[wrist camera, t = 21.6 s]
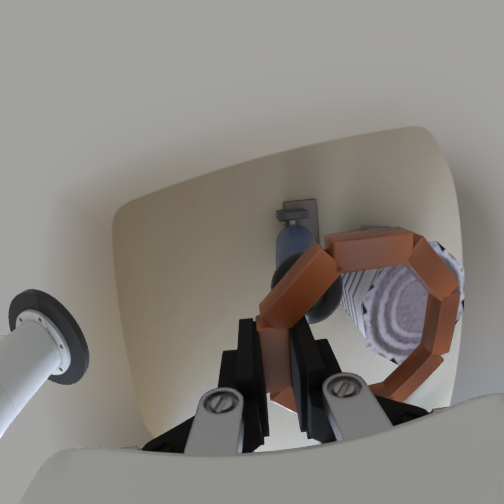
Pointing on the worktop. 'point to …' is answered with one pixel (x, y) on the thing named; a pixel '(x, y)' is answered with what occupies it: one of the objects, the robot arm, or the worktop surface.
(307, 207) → the bracket
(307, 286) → the ring
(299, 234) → the microphone
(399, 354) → the can
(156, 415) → the worktop surface
